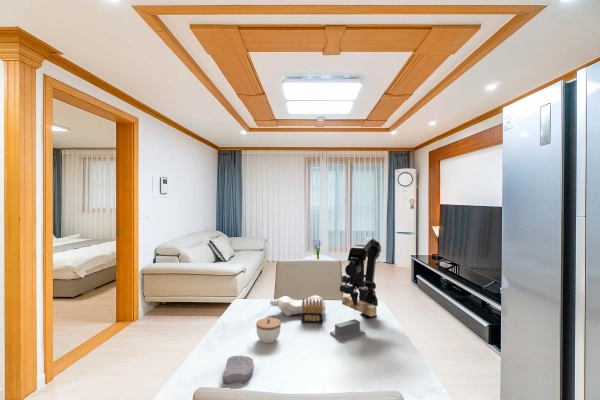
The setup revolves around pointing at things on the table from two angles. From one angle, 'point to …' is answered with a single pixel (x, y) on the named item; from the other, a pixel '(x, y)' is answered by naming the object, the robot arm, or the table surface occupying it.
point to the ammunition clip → (312, 312)
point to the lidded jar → (268, 329)
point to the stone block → (238, 369)
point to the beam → (359, 306)
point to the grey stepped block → (347, 330)
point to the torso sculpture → (294, 304)
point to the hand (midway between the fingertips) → (357, 304)
